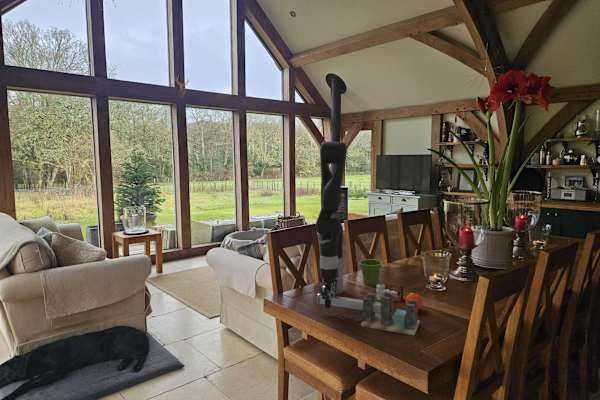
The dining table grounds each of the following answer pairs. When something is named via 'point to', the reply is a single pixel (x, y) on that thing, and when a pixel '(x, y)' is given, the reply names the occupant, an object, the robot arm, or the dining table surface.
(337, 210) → the robot arm
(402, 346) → the dining table surface
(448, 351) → the dining table surface
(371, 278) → the plant pot
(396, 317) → the spacer
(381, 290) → the valve
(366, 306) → the frame
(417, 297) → the clementine
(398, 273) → the dining table surface
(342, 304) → the shaft
